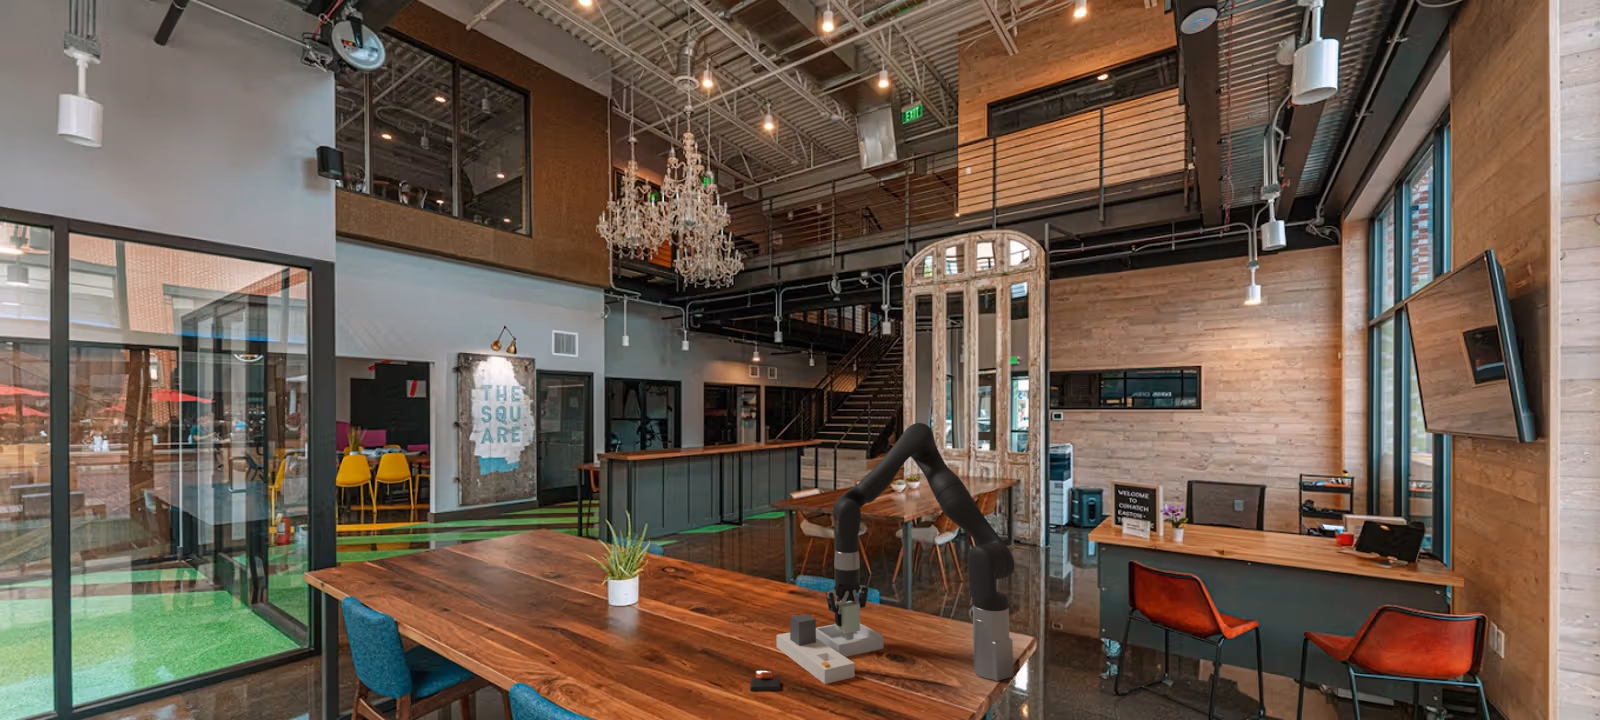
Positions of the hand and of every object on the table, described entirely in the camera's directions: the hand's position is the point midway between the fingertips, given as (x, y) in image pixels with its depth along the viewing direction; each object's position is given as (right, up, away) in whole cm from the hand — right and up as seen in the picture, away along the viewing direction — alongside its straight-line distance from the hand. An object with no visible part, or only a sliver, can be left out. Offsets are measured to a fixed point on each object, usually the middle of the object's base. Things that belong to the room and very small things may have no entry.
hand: (847, 624), depth 184 cm
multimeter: (-25, -5, -22) cm, 34 cm away
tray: (0, -6, 0) cm, 6 cm away
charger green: (0, -4, 0) cm, 4 cm away
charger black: (-13, -4, -7) cm, 16 cm away
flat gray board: (-11, -5, -13) cm, 17 cm away
